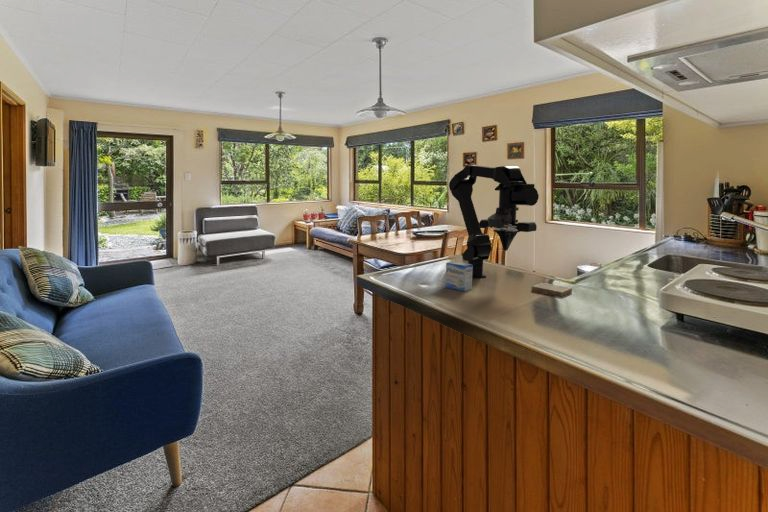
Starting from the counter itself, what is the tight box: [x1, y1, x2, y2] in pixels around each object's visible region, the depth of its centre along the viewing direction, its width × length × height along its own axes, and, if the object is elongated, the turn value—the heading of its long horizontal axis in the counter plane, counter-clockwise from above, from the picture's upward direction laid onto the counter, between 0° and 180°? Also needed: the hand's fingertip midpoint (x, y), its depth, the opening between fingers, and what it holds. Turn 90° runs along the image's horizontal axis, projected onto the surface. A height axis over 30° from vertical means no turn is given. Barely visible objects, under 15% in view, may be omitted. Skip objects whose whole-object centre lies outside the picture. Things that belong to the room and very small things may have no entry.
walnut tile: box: [531, 282, 573, 298], centre depth 133 cm, size 2×7×10 cm
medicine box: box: [444, 261, 473, 292], centre depth 137 cm, size 8×4×9 cm, turn 47°
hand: (505, 250), depth 140 cm, fingers closed
